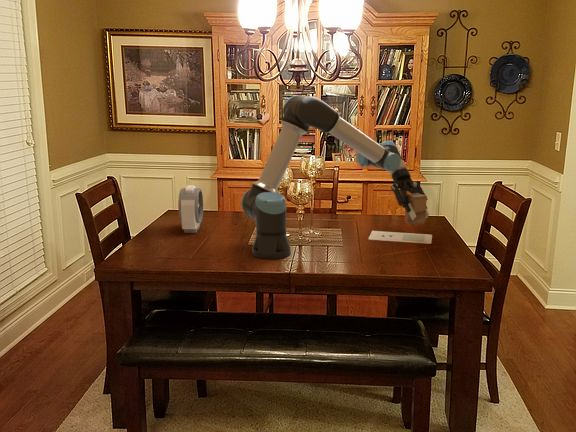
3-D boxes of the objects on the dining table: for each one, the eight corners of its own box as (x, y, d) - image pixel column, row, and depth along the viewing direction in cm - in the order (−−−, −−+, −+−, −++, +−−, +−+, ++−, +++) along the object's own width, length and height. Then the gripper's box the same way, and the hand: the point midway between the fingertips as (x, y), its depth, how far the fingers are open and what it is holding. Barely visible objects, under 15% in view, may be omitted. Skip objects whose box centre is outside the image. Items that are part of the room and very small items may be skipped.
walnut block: (425, 223, 246) (426, 195, 243) (413, 225, 243) (414, 197, 240) (416, 220, 251) (417, 193, 248) (405, 221, 249) (406, 194, 246)
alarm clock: (198, 235, 256) (196, 189, 251) (178, 235, 256) (176, 189, 251) (204, 224, 274) (202, 182, 269) (186, 224, 274) (184, 182, 269)
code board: (431, 245, 240) (431, 243, 240) (367, 240, 247) (368, 239, 247) (432, 236, 253) (432, 234, 253) (372, 232, 260) (372, 230, 260)
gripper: (413, 175, 260) (434, 219, 250) (377, 179, 253) (397, 224, 242) (421, 165, 254) (443, 210, 244) (384, 169, 247) (406, 215, 236)
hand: (420, 217), depth 243 cm, fingers closed on walnut block, 6 cm apart
